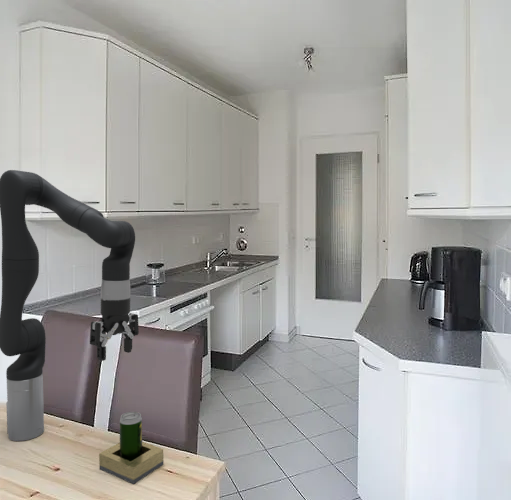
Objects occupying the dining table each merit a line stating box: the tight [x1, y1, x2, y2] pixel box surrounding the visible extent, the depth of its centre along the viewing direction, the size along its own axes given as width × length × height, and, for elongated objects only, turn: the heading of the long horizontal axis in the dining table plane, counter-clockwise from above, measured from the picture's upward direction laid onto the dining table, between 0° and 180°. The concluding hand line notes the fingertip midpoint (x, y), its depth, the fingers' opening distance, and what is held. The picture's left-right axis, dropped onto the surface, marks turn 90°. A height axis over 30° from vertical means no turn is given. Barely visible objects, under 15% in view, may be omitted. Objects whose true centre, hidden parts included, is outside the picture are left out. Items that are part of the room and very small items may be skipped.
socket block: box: [98, 441, 164, 485], centre depth 111 cm, size 12×10×4 cm
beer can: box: [119, 411, 143, 461], centre depth 111 cm, size 5×5×12 cm
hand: (115, 355), depth 118 cm, fingers open, 8 cm apart
